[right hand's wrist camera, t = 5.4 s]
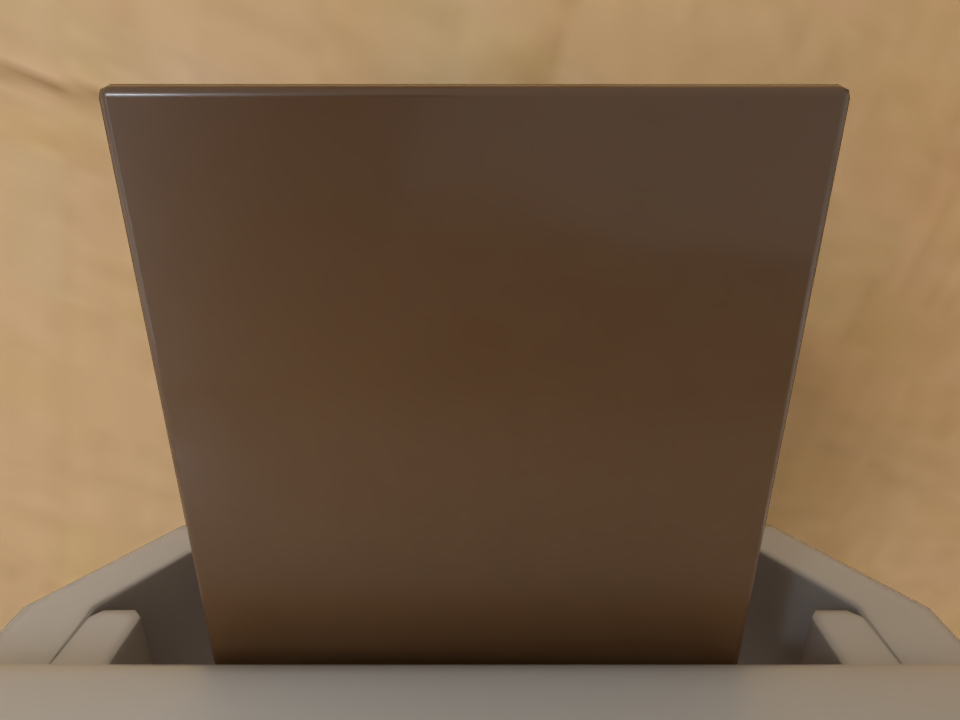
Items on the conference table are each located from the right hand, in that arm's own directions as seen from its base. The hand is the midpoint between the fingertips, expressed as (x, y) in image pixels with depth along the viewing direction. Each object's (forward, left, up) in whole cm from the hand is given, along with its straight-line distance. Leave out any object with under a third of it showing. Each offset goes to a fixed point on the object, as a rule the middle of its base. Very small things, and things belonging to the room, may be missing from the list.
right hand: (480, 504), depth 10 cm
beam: (+20, -4, -3) cm, 20 cm away
